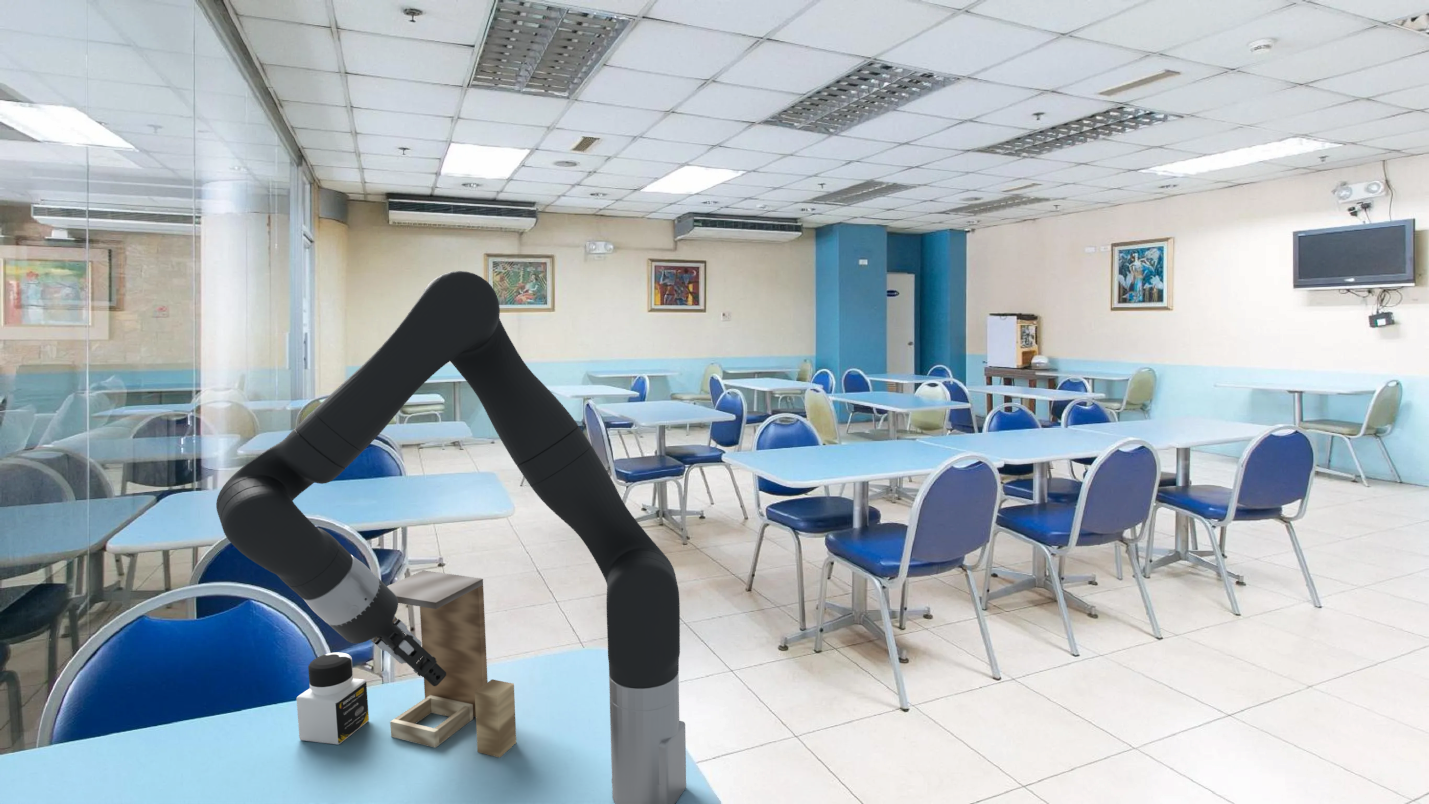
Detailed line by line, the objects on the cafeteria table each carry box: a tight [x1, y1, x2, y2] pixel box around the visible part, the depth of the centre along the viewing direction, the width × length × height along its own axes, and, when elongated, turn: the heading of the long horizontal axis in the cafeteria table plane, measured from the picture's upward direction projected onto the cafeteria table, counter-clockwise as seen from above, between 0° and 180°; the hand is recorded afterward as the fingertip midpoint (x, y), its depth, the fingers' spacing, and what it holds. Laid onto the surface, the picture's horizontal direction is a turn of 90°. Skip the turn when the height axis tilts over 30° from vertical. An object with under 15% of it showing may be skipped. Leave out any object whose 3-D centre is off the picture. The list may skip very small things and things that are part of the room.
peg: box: [475, 679, 517, 758], centre depth 111 cm, size 4×4×10 cm
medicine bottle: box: [296, 651, 370, 745], centre depth 116 cm, size 7×7×12 cm
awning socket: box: [386, 570, 489, 749], centre depth 116 cm, size 12×11×23 cm
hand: (424, 666), depth 101 cm, fingers open, 8 cm apart
